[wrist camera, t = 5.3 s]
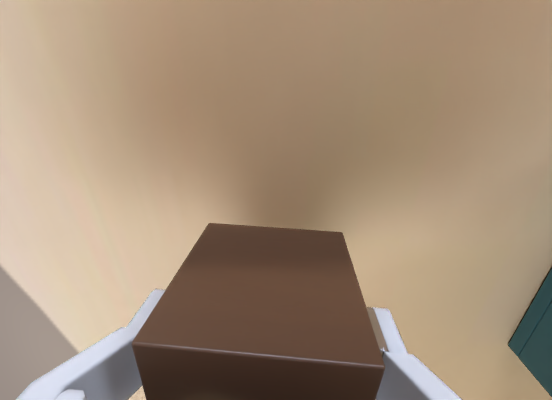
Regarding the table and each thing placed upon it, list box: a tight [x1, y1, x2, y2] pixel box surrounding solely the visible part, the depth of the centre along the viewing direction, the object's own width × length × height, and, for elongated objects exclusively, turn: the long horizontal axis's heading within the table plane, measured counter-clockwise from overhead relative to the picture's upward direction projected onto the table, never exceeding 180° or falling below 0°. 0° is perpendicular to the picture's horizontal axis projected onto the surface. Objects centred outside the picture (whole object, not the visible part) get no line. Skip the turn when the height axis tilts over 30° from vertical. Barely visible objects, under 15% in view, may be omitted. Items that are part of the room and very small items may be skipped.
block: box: [131, 223, 385, 400], centre depth 8 cm, size 5×5×5 cm
